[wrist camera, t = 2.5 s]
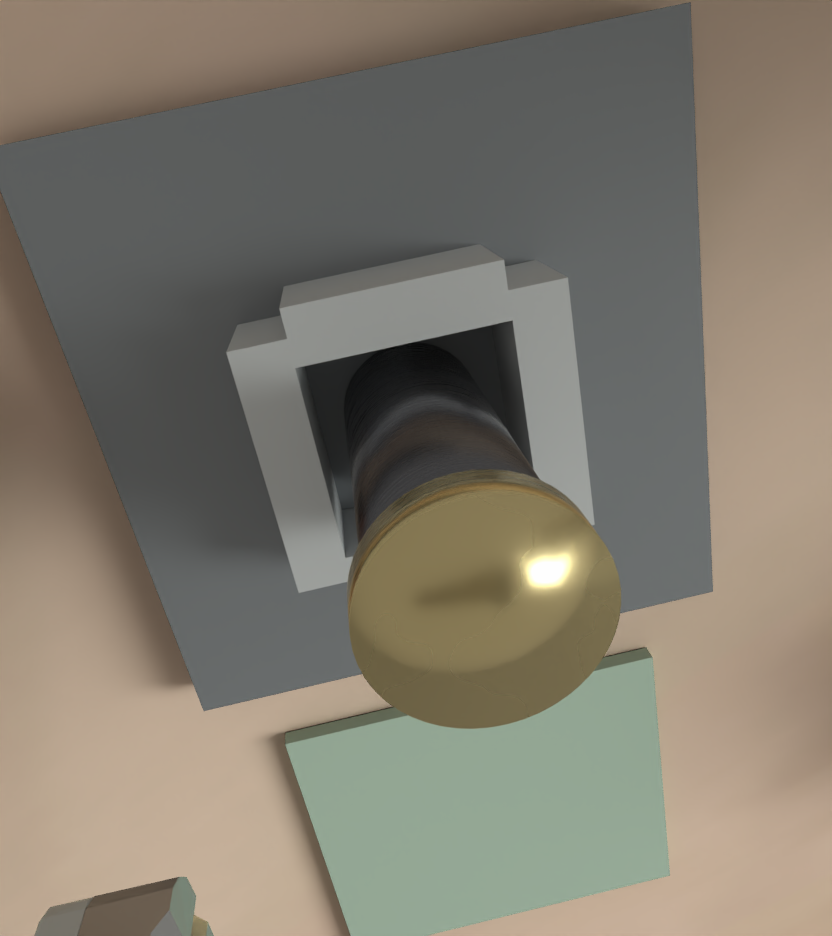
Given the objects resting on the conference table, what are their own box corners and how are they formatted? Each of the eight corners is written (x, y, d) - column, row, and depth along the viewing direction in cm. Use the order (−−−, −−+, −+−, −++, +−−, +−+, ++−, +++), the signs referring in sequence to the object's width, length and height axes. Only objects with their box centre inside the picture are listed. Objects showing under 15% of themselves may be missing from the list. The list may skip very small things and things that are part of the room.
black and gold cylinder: (474, 316, 22) (608, 465, 12) (498, 460, 24) (631, 694, 14) (316, 350, 22) (319, 531, 12) (352, 493, 24) (381, 754, 14)
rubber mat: (646, 647, 29) (652, 657, 29) (664, 863, 34) (669, 875, 34) (285, 732, 29) (285, 744, 28) (355, 939, 34) (356, 952, 33)
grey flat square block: (665, 11, 21) (751, -20, 17) (693, 569, 28) (757, 642, 24) (6, 148, 20) (-73, 150, 16) (209, 682, 28) (191, 777, 24)
